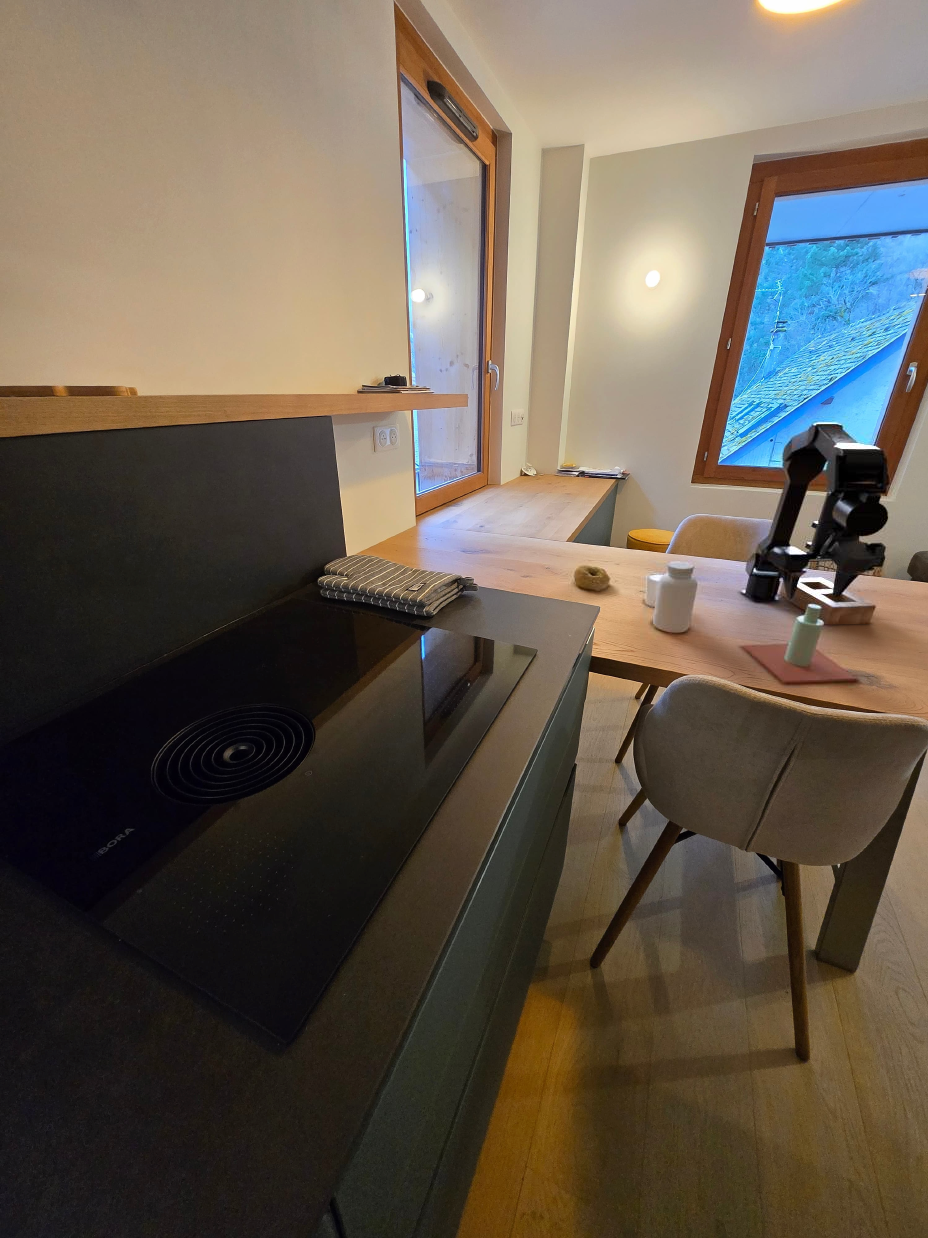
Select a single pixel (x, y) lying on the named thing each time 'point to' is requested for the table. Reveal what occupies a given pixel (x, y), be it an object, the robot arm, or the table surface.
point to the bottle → (804, 637)
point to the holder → (831, 602)
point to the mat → (789, 673)
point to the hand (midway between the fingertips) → (812, 597)
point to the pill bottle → (675, 598)
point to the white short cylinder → (652, 588)
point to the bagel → (591, 577)
